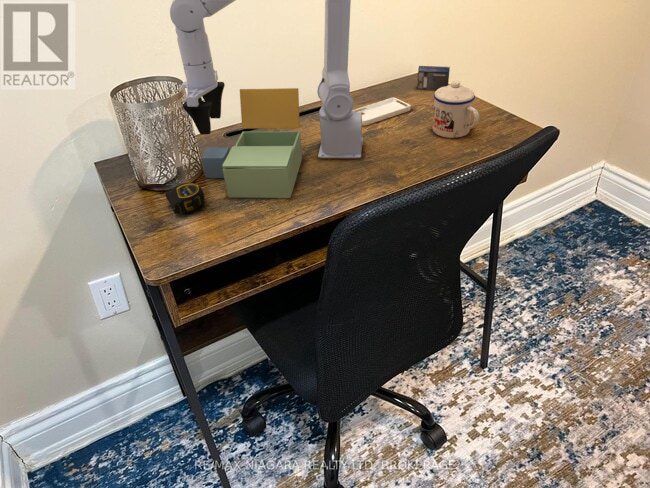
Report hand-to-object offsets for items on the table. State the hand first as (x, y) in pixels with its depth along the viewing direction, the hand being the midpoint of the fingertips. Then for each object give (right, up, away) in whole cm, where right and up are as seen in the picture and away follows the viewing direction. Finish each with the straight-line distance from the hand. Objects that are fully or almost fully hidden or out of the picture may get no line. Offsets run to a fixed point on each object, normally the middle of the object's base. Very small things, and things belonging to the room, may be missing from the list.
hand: (210, 125), depth 109 cm
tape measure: (-3, -18, -7) cm, 20 cm away
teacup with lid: (+55, +1, +12) cm, 56 cm away
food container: (-10, -11, +3) cm, 15 cm away
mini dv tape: (+54, +18, +34) cm, 66 cm away
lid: (+12, +4, +2) cm, 13 cm away
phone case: (+38, +8, +23) cm, 45 cm away
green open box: (+12, -11, +1) cm, 16 cm away
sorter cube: (+1, -9, +3) cm, 10 cm away
